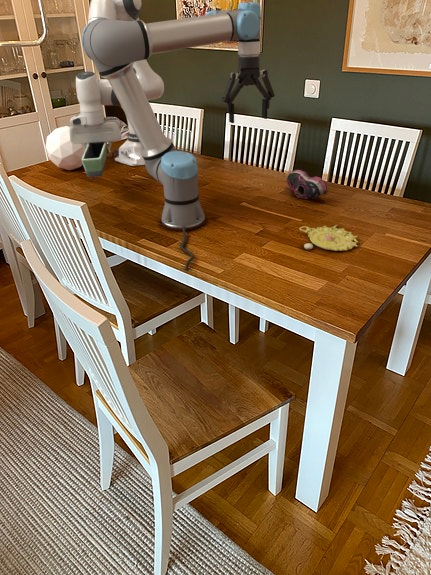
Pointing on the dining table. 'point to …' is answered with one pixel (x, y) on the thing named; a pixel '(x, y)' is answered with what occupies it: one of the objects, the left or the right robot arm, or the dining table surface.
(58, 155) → the sphere
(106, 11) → the left robot arm
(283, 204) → the dining table surface
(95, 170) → the planter
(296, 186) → the athletic shoe
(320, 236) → the decorative object
